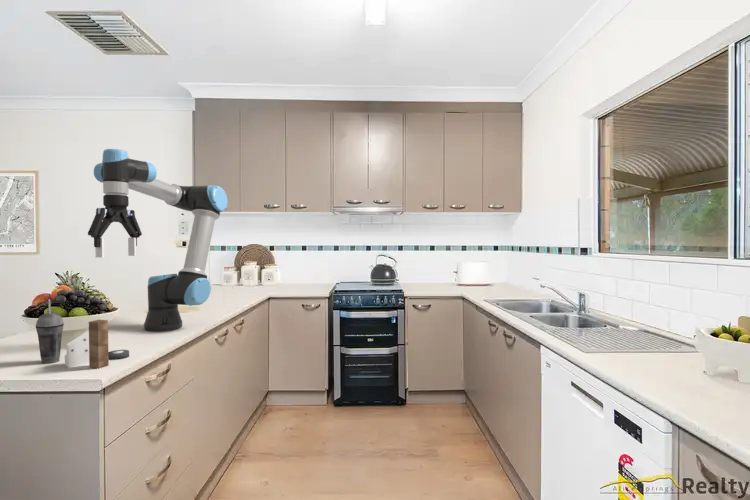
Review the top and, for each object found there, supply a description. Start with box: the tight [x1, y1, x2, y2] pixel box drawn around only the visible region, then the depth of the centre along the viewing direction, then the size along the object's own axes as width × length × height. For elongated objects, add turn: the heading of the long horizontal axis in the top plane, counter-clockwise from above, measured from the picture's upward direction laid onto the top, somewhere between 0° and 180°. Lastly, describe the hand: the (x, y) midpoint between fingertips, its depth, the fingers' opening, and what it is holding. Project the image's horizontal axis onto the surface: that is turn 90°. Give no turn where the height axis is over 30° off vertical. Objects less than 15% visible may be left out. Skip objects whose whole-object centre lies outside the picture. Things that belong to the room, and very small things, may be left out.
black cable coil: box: [108, 349, 130, 361], centre depth 144 cm, size 6×6×2 cm
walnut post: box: [88, 319, 110, 370], centre depth 133 cm, size 4×4×14 cm
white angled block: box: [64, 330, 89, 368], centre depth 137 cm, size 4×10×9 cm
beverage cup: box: [35, 298, 65, 365], centre depth 138 cm, size 7×7×20 cm
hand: (116, 256), depth 151 cm, fingers open, 13 cm apart
